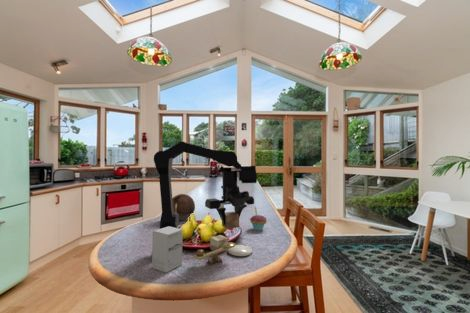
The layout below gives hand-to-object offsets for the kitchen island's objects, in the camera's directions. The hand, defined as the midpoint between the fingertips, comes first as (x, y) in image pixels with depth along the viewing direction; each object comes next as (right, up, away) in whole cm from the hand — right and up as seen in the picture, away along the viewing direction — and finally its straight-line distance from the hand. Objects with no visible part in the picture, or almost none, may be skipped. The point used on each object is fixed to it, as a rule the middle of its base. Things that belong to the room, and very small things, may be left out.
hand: (230, 223), depth 98 cm
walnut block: (0, -1, 0) cm, 1 cm away
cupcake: (+14, -12, +33) cm, 38 cm away
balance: (-5, -12, -7) cm, 15 cm away
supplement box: (-22, -12, -11) cm, 27 cm away
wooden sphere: (-29, -11, +49) cm, 58 cm away
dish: (+4, -12, +2) cm, 13 cm away
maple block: (-5, -12, +4) cm, 13 cm away
